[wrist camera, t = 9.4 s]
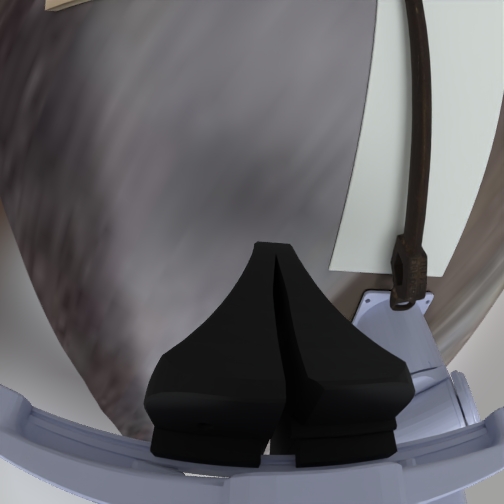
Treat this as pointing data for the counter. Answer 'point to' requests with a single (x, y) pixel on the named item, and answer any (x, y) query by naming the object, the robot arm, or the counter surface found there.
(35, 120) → the counter surface
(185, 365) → the robot arm
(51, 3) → the cup on beige base
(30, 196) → the counter surface
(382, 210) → the tool mat
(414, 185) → the dark brown hooked rod
